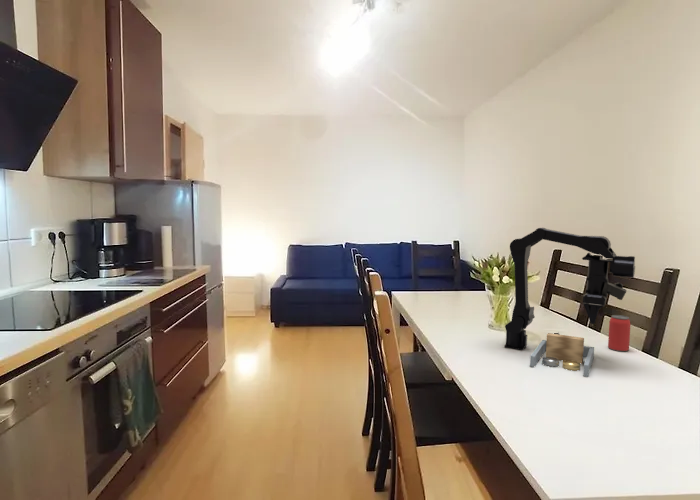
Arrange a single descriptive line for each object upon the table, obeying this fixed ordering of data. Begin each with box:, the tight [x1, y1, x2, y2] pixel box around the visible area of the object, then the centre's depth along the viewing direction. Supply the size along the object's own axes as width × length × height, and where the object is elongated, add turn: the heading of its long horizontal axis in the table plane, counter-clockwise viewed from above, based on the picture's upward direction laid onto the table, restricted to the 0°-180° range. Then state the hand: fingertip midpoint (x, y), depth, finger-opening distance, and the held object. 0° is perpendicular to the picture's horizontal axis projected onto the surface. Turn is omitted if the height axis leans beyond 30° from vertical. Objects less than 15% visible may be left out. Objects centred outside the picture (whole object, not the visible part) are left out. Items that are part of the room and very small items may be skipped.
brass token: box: [562, 360, 581, 372], centre depth 145 cm, size 5×5×2 cm
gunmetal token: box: [541, 356, 560, 368], centre depth 148 cm, size 5×5×2 cm
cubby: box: [529, 339, 595, 378], centre depth 151 cm, size 16×22×4 cm
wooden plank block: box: [545, 333, 585, 365], centre depth 153 cm, size 11×3×8 cm, turn 58°
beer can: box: [607, 314, 631, 352], centre depth 165 cm, size 7×7×12 cm
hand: (593, 320), depth 152 cm, fingers open, 9 cm apart
